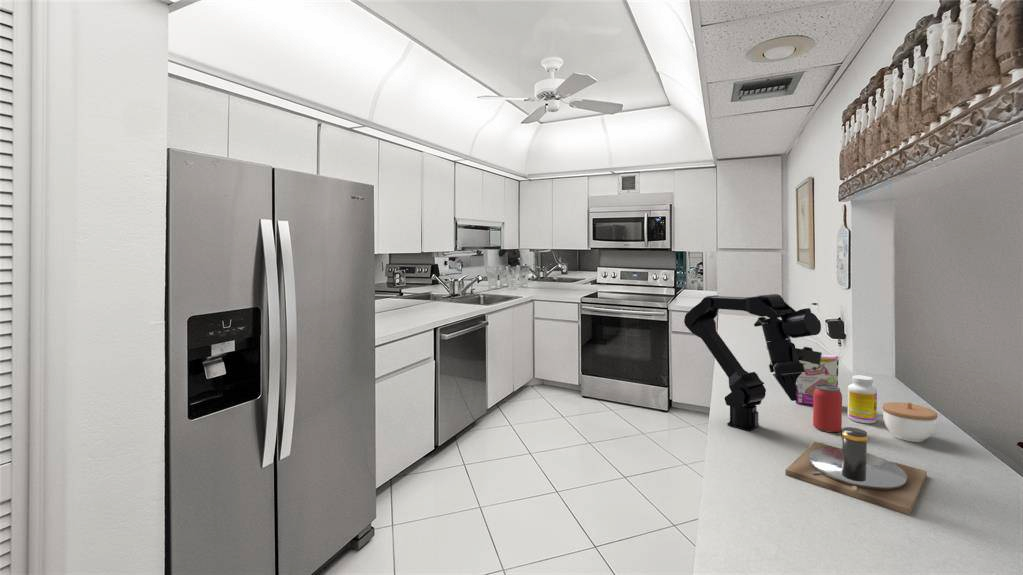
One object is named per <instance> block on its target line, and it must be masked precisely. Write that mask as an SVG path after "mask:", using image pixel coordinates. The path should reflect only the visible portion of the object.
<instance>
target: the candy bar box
mask: <svg viewBox="0 0 1023 575" xmlns="http://www.w3.org/2000/svg"><path fill="white" fill-rule="evenodd" d="M839 360H840V359H839V357H838V355H835V354H834V355H832V354H822V355H821V362H820V365H819V364H813V363H810V362H806V361H800V360H799V362H800V363H802V364H803V365H804V369H805V372H802V374H801V375H800V376H799V377H798V378H797V379H796V401H795V404H799V405H807V406H813V393H814V390H815V388H816V385H819V384H825V385H832V386H836V387H839Z"/></svg>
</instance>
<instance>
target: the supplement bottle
mask: <svg viewBox="0 0 1023 575" xmlns="http://www.w3.org/2000/svg"><path fill="white" fill-rule="evenodd" d="M851 380H852V383H851V384H849V385H848V386H847V418H848V419H850V421H853V422H856V423H861V424H862V423H863V424H875V423H876V422H877V412H878V407H877V406H878V390H877V389H876V387H874V386H873V383H874V378H873V377H871V376H866V375H859V374H855V375H852V377H851Z"/></svg>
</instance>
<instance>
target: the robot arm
mask: <svg viewBox="0 0 1023 575" xmlns="http://www.w3.org/2000/svg"><path fill="white" fill-rule="evenodd" d="M719 310H730V311H743V312H747V313H748V314H750V315H753V316H757V317H758V318H757V321H755V323H754V324H753V326H754V327H761V328H762V331H763V335H764V339H765V342H766V343H765V344H766V346H765V347H766V350H767V351H768V355H769V359H770V361H769V362H770V363H769V364H768V369H769V372H770V373H773V374H772V376H773V377H774V379H775V380H776V382H777V383H778V384H779V385H780V387H781V388H782V390H783V391H784V393H785V394H786V395H787V397H788V398H789V400H790V401H791V402H792V401H793V402H796V379H797V378H798V377H799V376H800V375H801V374H802V372H805V369H804V365H803V364H802V363H800V362H799V360H800V361H806V362H810V363H813V364H819V365H820V362H821V355H823V353H822V352H821V351H815V350H813V348H812V347H809V346H803V347H802V348H797V347H796V345H795V343H793V342H792V340H791V338H792V339H797V338H804V337H810V336H817V335H820V333H821V331H822V324H821V321H820V319H819V317H817V316H816V314H814V313H813V312H812V310H811V308H810V307H808V308H801V309H799V310H795V309H794V308H793V307H792V306H790V304H788V303H787V302H785V300H784V298H783V297H782V296H781V295H780V294H778V293H772V294H771V293H770V294H760V295H755V296H726V295H725V296H724V295H723V296H722V295H706V296H705V297H704V298H702V299H701V301H700V302H699V303H698V304H696V305H695V306H693V307H692V308H691V309H690V310H689V311H688V312H686V314H685V315H684V320H683V323H684V326H685V327H686V328H687V329H688V330H689V331H690V332H691V334H693V335H695V336H696V337H698V338H700V339H701V340H702V341H703V344H705V345H706V347H707V349H708V350H709V352H710V353H711V354H712V356H713V357H714V359H715V360H716V362H717V363H718V364H719V366H720V368H721V369H722V370H723V372H724V373H725V375H726V377H727V378H728V387H729V390H730V393H728V394H727V395H726V396H725V397H724V401H725V405H726V406H729V421H728V422H727V423H726V424H727V426H731V427H733V428H736V429H741V430H745V431H748V432H751V431H753V430H754V429H756V428H758V427H759V426H760V423H759V411H758V409H757V406H759V405H761V404H762V401H763V400H764V399H765V398H766V392H767V389H766V387H765V386H764V385H765V382H764V381H763V380H761V378H760V377H759V375H758V373H757V372H756V371H752V372H748V371H746V369H744V368H743V366H742V365H741V363H740V362H739V360H738V359H737V358H736V357H735V355H734V354H733V352H732V351H731V349H730V348H729V347H728V345H727V344H726V343H725V341H724V340H723V338H722V336H720V334H719V332H718V331H717V322H716V321H715V318H716V317H717V316H718V315H719V314H718V313H719ZM780 318H781V319H780Z"/></svg>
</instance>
